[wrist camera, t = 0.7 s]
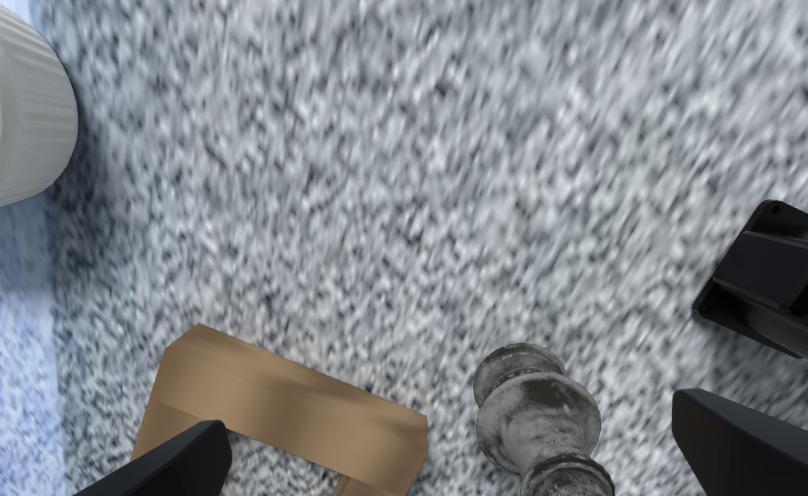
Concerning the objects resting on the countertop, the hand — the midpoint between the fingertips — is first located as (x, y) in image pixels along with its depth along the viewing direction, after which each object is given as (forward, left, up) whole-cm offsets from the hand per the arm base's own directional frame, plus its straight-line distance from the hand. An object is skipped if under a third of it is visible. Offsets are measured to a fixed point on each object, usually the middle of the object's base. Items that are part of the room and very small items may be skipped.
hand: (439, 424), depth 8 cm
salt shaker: (-8, +5, -14) cm, 16 cm away
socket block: (+3, +16, -13) cm, 21 cm away
